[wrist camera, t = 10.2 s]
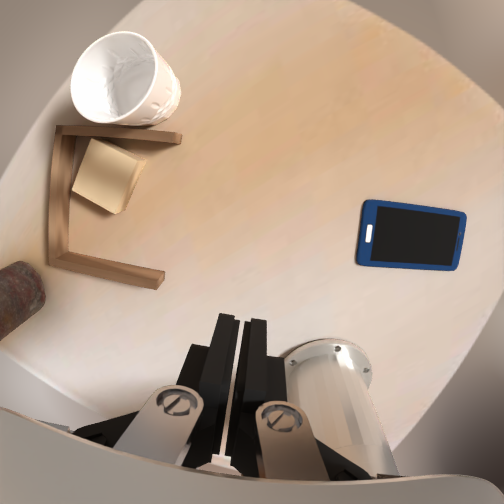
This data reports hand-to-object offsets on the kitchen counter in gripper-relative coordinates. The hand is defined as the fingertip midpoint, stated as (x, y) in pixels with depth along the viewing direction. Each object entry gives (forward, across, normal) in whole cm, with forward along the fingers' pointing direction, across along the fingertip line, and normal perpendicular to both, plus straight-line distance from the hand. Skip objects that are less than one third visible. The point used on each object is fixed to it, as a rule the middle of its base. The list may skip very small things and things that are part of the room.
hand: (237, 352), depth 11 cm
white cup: (+23, +13, -12) cm, 30 cm away
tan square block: (+24, +16, -4) cm, 29 cm away
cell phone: (+24, -18, -2) cm, 30 cm away
